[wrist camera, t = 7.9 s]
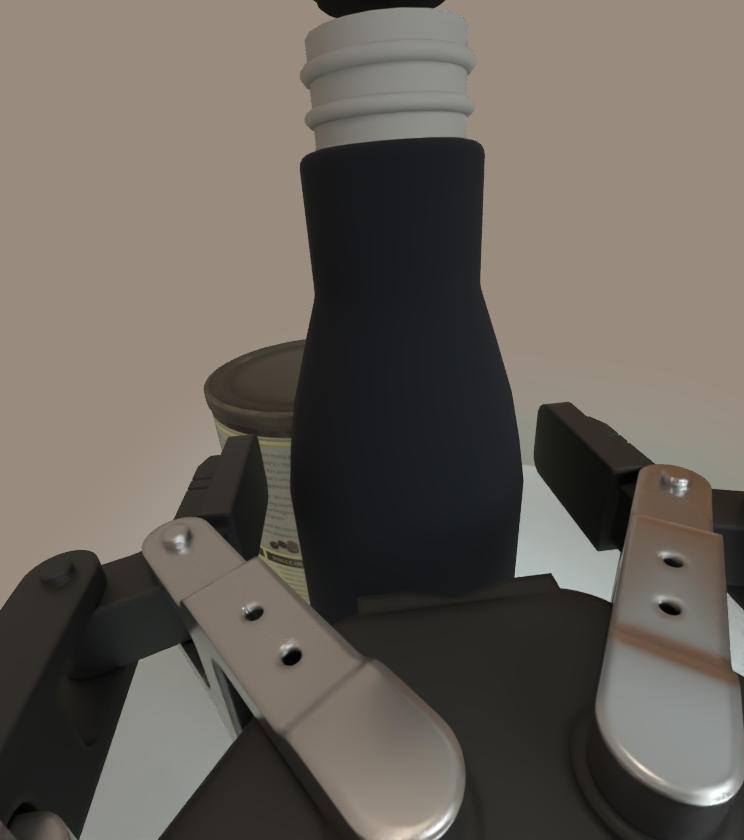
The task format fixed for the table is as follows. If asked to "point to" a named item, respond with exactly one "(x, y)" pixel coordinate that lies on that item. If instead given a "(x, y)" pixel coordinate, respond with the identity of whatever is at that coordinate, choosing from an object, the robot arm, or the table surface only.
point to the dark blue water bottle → (398, 321)
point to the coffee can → (265, 440)
